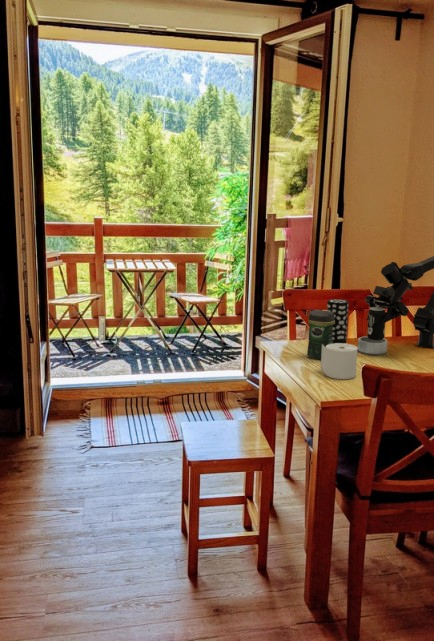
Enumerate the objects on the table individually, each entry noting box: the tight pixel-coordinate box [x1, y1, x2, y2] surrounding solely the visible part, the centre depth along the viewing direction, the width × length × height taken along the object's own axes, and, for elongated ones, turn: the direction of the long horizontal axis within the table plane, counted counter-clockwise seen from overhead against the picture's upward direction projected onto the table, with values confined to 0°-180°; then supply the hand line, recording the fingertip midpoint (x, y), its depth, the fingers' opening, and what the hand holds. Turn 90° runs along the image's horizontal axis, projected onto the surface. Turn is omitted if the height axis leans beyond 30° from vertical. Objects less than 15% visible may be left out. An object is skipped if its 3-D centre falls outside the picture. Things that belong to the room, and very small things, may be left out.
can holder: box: [357, 335, 388, 356], centre depth 218 cm, size 12×12×5 cm
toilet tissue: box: [320, 343, 358, 380], centre depth 188 cm, size 11×12×10 cm
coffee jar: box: [306, 309, 335, 361], centre depth 208 cm, size 10×8×19 cm
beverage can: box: [366, 306, 387, 340], centre depth 211 cm, size 7×7×12 cm
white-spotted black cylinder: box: [326, 298, 349, 344], centre depth 219 cm, size 8×8×20 cm
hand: (373, 322), depth 210 cm, fingers closed on beverage can, 6 cm apart
